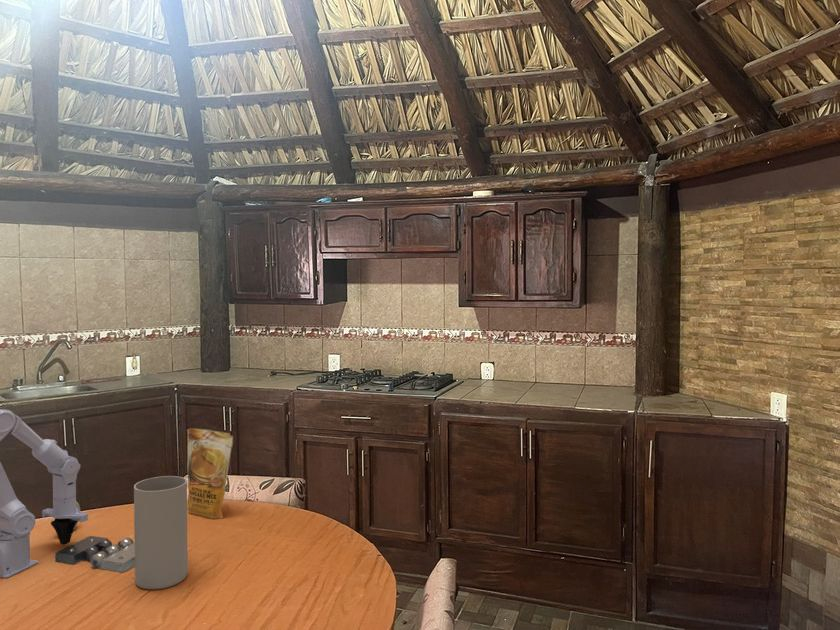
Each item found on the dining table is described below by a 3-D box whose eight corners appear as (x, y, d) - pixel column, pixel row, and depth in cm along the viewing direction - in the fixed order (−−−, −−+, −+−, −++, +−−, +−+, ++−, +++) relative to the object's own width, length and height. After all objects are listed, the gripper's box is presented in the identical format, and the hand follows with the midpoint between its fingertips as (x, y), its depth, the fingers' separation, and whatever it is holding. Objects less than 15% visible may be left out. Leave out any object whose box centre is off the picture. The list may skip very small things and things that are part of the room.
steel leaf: (122, 573, 158) (122, 559, 158) (89, 567, 161) (88, 554, 161) (156, 553, 171) (155, 540, 170) (124, 548, 174) (124, 536, 173)
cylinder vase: (137, 572, 159) (136, 478, 158) (187, 565, 163) (187, 474, 163) (132, 594, 147) (131, 493, 146) (187, 586, 152) (186, 488, 151)
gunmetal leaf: (86, 566, 162) (85, 553, 162) (55, 561, 165) (55, 548, 165) (119, 548, 174) (119, 536, 173) (90, 544, 176) (90, 532, 176)
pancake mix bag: (195, 505, 209) (194, 425, 208) (235, 515, 200) (235, 431, 199) (179, 511, 203) (178, 429, 202) (220, 522, 194) (219, 436, 193)
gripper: (96, 495, 175) (96, 540, 176) (56, 490, 179) (57, 535, 180) (76, 503, 168) (76, 550, 169) (35, 497, 172) (36, 544, 173)
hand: (65, 543), depth 174 cm, fingers closed
